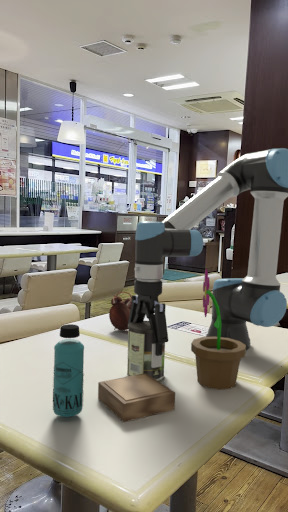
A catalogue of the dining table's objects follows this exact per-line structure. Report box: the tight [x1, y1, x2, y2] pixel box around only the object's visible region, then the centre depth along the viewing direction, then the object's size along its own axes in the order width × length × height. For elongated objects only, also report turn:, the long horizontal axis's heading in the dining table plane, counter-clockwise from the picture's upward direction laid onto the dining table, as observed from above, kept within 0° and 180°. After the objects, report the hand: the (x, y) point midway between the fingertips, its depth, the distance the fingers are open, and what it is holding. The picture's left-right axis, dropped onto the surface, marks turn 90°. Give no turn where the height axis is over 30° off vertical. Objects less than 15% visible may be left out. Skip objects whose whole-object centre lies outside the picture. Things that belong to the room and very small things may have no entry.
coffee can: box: [126, 320, 166, 382], centre depth 115 cm, size 10×10×14 cm
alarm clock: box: [108, 291, 132, 334], centre depth 159 cm, size 11×5×15 cm, turn 58°
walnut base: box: [97, 373, 176, 423], centre depth 98 cm, size 13×13×4 cm
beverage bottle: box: [51, 324, 85, 418], centre depth 90 cm, size 6×7×20 cm
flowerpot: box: [190, 268, 247, 390], centre depth 112 cm, size 14×14×30 cm
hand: (145, 360), depth 115 cm, fingers closed on coffee can, 10 cm apart
